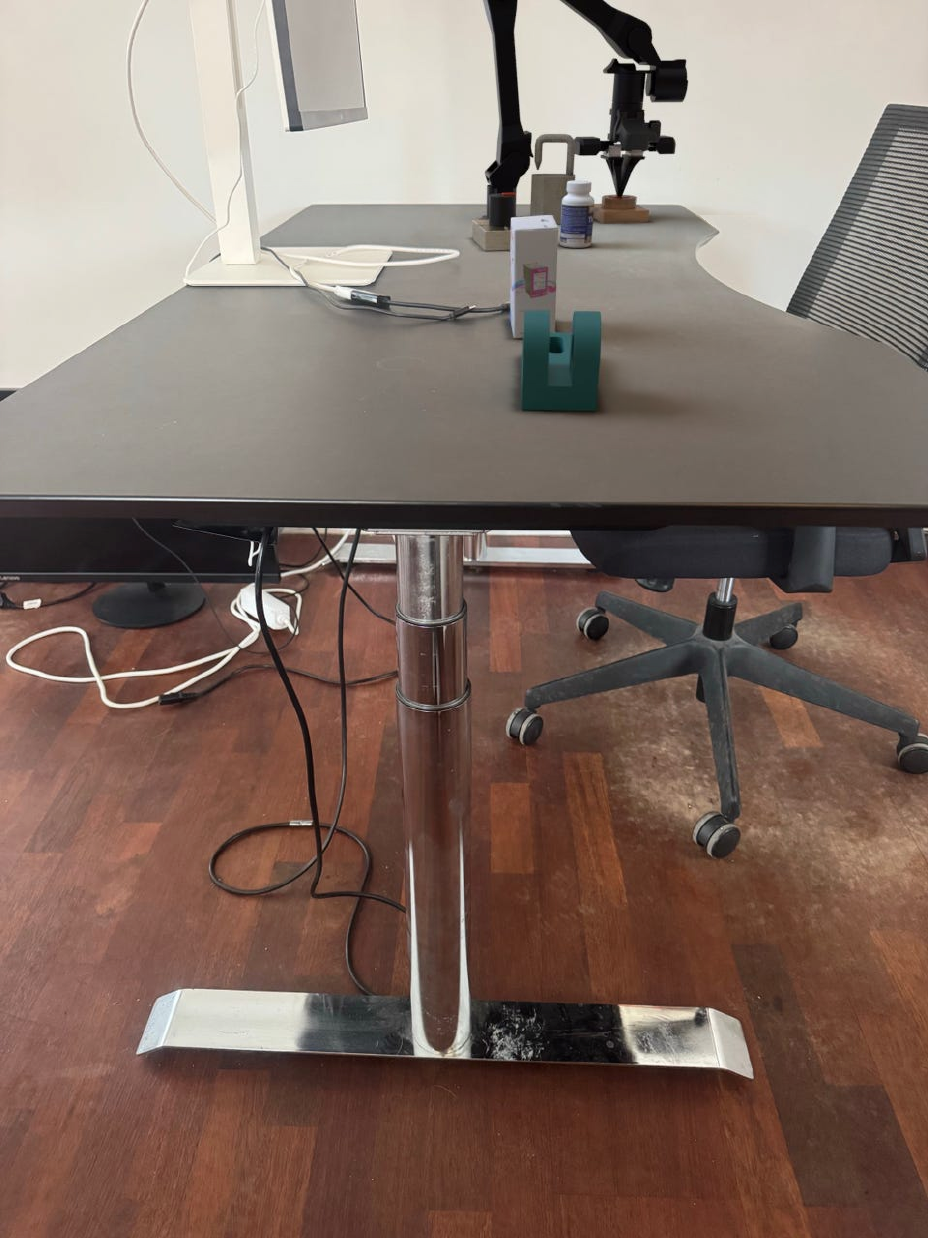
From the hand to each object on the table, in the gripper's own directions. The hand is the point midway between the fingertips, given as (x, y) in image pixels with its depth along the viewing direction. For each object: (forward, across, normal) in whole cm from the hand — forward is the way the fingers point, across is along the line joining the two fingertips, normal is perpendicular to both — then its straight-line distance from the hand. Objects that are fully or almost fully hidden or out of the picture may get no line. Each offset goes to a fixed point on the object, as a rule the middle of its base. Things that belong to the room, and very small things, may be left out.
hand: (619, 195), depth 169 cm
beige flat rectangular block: (+4, -27, -22) cm, 35 cm away
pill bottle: (+4, -16, -26) cm, 31 cm away
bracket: (+4, -38, -96) cm, 103 cm away
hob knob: (+1, -28, -22) cm, 36 cm away
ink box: (+4, -36, -77) cm, 85 cm away
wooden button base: (+4, 0, 0) cm, 4 cm away
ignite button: (+2, 0, 0) cm, 2 cm away
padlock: (+4, -14, -2) cm, 15 cm away
